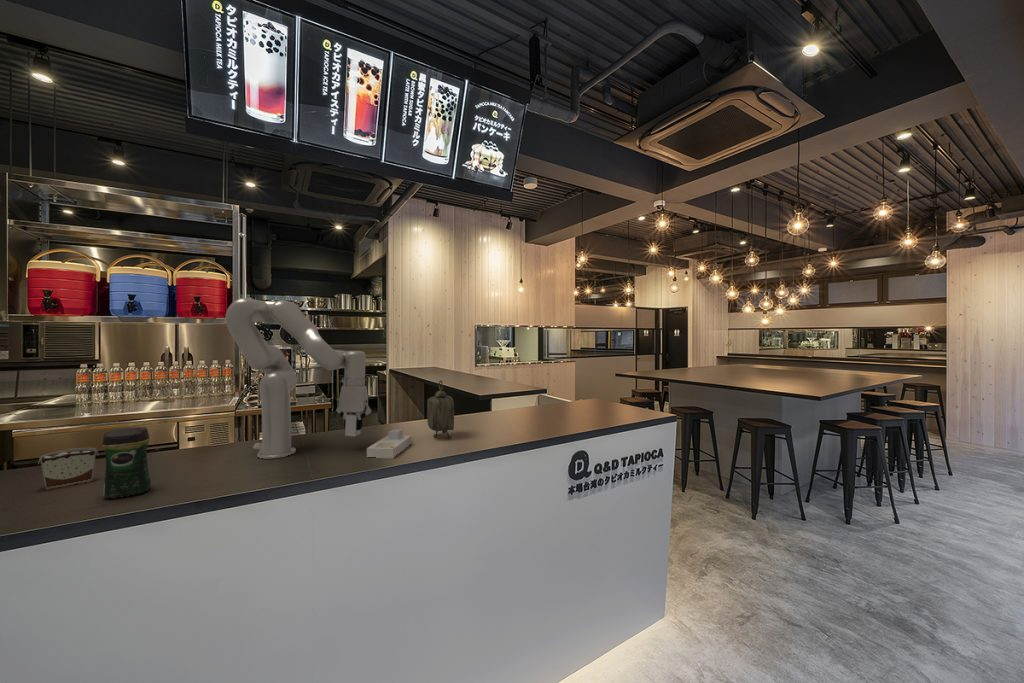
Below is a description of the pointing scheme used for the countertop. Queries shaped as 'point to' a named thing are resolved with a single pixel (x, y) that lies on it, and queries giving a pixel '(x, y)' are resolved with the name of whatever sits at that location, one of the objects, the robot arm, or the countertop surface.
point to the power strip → (389, 445)
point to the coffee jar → (126, 462)
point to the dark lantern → (440, 412)
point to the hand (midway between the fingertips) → (353, 428)
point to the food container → (68, 466)
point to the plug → (351, 425)
